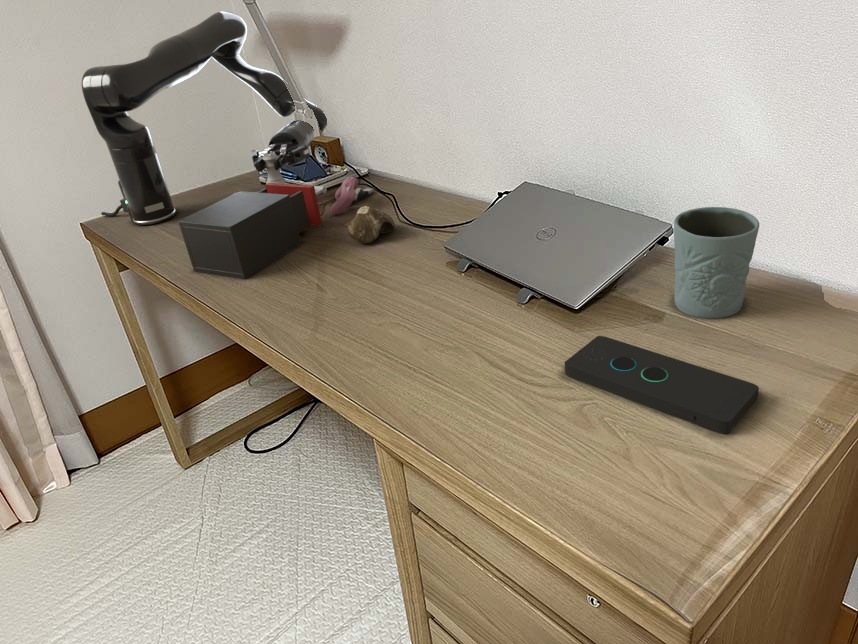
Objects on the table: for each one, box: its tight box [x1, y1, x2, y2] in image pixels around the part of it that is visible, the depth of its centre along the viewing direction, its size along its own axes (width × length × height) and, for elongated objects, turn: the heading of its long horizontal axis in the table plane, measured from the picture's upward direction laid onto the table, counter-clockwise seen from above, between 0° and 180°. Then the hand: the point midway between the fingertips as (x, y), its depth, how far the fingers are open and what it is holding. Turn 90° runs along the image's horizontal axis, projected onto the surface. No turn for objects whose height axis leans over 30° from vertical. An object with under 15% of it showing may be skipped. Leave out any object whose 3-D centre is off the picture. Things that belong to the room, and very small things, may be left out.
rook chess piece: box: [263, 151, 287, 185], centre depth 149 cm, size 4×4×8 cm
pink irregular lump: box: [330, 176, 359, 216], centre depth 146 cm, size 10×5×7 cm, turn 0°
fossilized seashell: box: [344, 205, 397, 244], centre depth 129 cm, size 8×7×10 cm
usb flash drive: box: [351, 187, 375, 205], centre depth 152 cm, size 9×5×1 cm, turn 147°
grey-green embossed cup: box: [673, 206, 760, 319], centre depth 91 cm, size 10×10×12 cm
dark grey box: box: [177, 190, 302, 280], centre depth 127 cm, size 16×13×10 cm
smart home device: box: [564, 335, 760, 435], centre depth 79 cm, size 8×2×20 cm
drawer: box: [256, 183, 328, 234], centre depth 136 cm, size 21×12×8 cm, turn 151°
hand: (266, 166), depth 145 cm, fingers closed on rook chess piece, 3 cm apart
